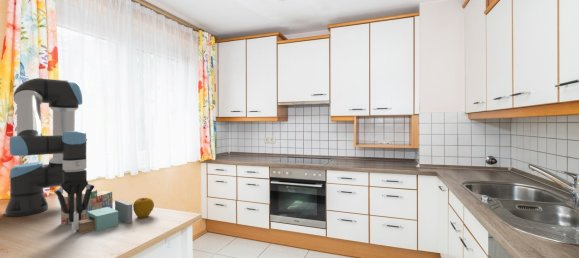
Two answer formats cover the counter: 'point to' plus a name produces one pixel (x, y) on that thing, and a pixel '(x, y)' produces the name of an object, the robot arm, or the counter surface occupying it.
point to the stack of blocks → (89, 204)
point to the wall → (124, 210)
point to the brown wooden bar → (86, 225)
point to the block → (104, 218)
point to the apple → (143, 207)
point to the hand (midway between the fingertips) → (75, 229)
